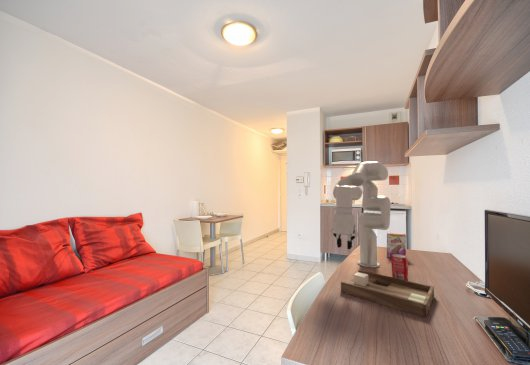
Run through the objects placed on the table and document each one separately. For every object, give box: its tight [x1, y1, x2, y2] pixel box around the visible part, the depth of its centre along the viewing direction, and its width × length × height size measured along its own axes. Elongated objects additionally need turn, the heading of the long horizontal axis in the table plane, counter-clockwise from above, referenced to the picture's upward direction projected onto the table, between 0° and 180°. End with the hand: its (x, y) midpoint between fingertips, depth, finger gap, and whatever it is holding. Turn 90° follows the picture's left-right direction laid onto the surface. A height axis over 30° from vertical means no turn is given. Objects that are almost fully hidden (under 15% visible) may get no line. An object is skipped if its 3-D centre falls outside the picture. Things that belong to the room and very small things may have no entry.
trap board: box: [340, 269, 435, 318], centre depth 105 cm, size 22×32×4 cm
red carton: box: [391, 254, 409, 281], centre depth 120 cm, size 7×7×13 cm
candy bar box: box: [386, 231, 407, 259], centre depth 162 cm, size 11×5×16 cm, turn 66°
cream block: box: [353, 271, 368, 286], centre depth 113 cm, size 5×5×4 cm
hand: (344, 247), depth 118 cm, fingers open, 4 cm apart
